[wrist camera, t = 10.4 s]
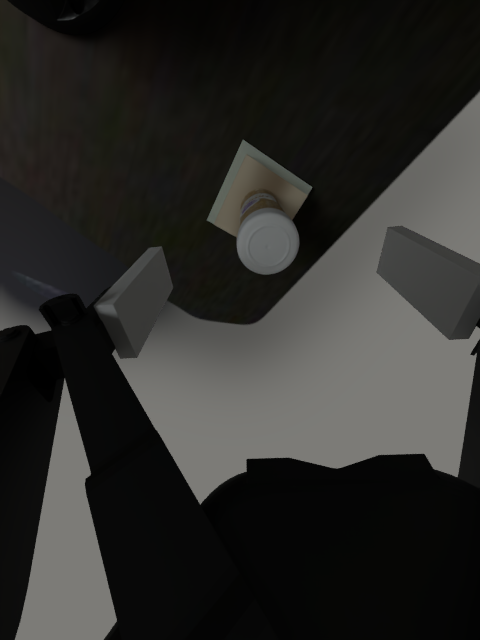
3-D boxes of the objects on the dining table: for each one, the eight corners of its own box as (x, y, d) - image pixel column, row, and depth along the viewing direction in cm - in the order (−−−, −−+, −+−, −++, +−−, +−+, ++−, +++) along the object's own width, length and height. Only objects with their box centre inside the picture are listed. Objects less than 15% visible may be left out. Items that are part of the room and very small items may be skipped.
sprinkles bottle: (254, 179, 27) (261, 197, 16) (286, 203, 28) (314, 237, 17) (232, 216, 29) (224, 256, 18) (263, 237, 30) (274, 287, 19)
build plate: (207, 218, 34) (206, 220, 33) (242, 139, 29) (242, 139, 28) (268, 253, 36) (269, 255, 36) (311, 186, 31) (312, 187, 31)
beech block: (216, 217, 33) (213, 224, 29) (246, 153, 29) (246, 154, 25) (267, 245, 35) (269, 255, 31) (301, 190, 31) (307, 195, 27)
